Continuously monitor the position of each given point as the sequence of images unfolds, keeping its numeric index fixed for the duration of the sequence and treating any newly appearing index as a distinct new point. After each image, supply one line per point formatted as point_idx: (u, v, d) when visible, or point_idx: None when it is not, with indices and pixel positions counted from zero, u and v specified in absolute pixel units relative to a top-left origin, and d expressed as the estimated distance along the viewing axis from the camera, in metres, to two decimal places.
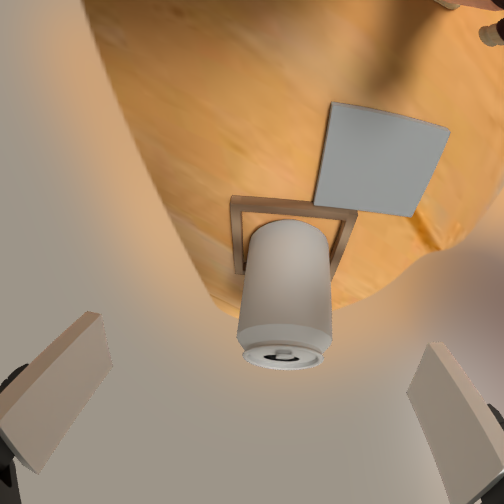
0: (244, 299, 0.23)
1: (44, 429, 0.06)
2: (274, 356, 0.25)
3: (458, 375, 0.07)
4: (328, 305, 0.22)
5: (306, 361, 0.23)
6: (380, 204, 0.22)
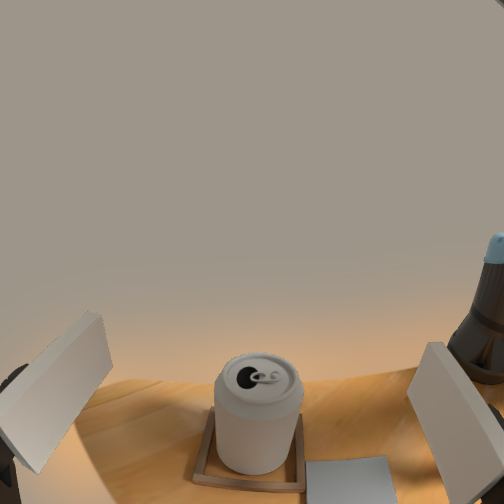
0: None
1: (44, 429, 0.06)
2: (218, 377, 0.23)
3: (458, 375, 0.07)
4: (280, 434, 0.20)
5: None
6: None
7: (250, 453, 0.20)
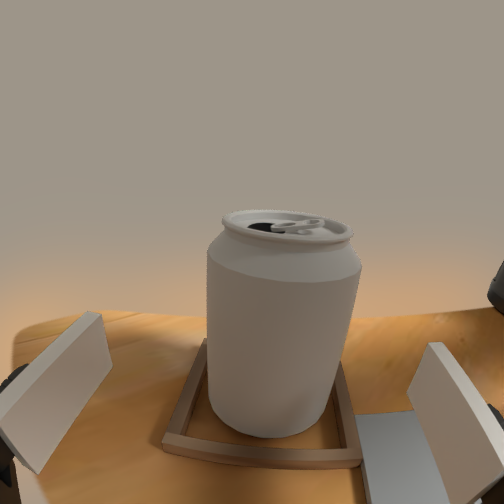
0: None
1: (44, 429, 0.06)
2: None
3: (458, 375, 0.07)
4: (328, 333, 0.12)
5: None
6: (385, 484, 0.10)
7: (269, 382, 0.12)
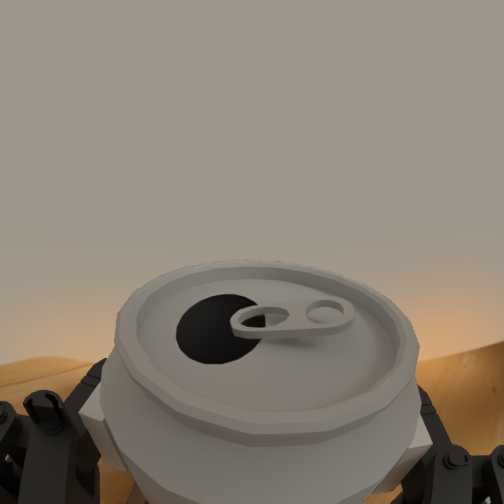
0: None
1: None
2: None
3: None
4: None
5: None
6: None
7: None
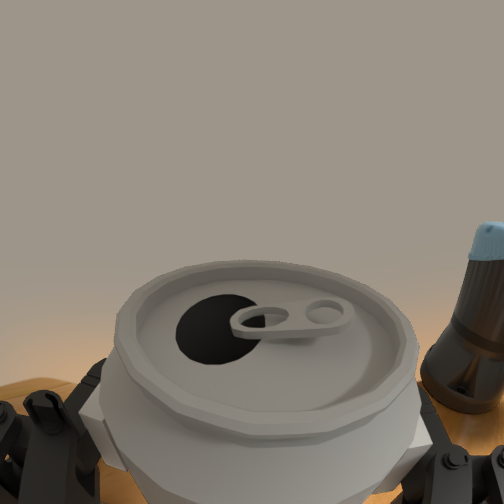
0: None
1: None
2: None
3: None
4: None
5: None
6: None
7: None
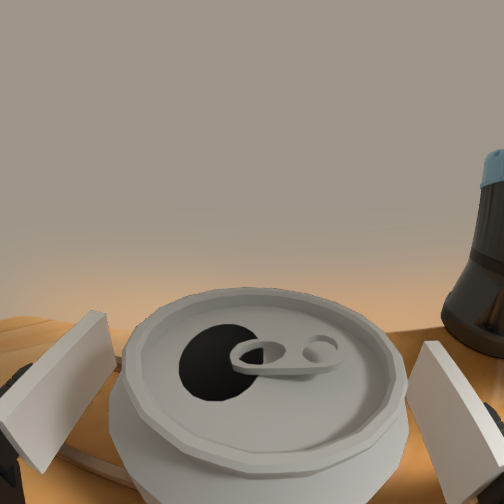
0: None
1: (49, 428, 0.06)
2: None
3: (454, 374, 0.07)
4: None
5: None
6: None
7: None
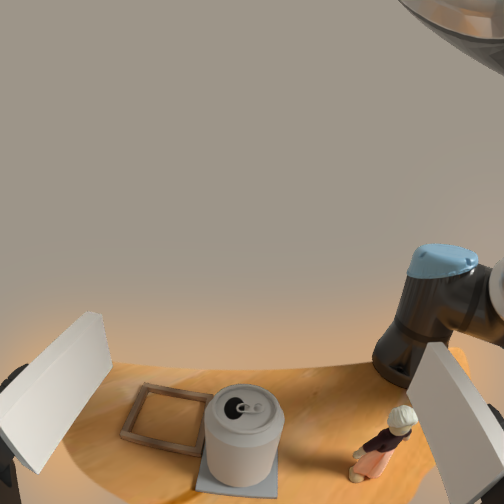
0: None
1: (44, 429, 0.06)
2: (208, 406, 0.24)
3: (458, 375, 0.07)
4: (262, 456, 0.22)
5: (226, 424, 0.22)
6: (208, 467, 0.26)
7: (236, 471, 0.22)
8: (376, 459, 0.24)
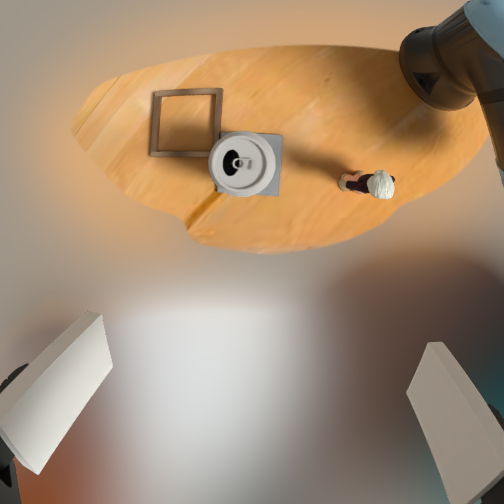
0: None
1: (44, 429, 0.06)
2: (210, 157, 0.31)
3: (458, 375, 0.07)
4: None
5: (225, 181, 0.31)
6: None
7: None
8: None
